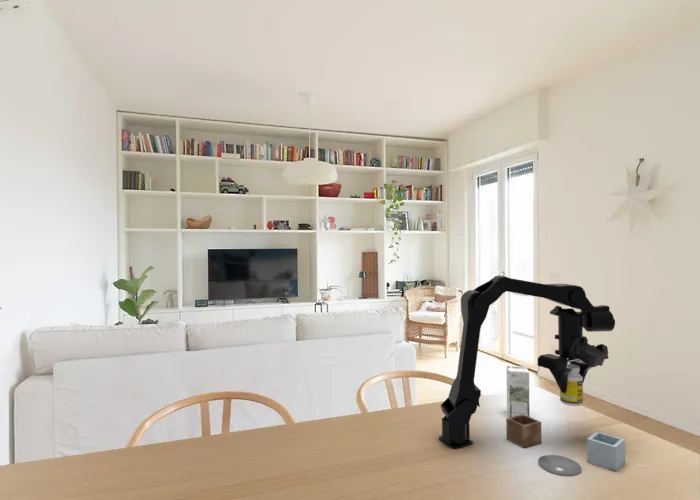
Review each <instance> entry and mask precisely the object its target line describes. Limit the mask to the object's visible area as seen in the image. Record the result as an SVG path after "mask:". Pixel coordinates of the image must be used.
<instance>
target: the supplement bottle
mask: <svg viewBox="0 0 700 500" xmlns="http://www.w3.org/2000/svg"><path fill="white" fill-rule="evenodd" d="M568 368H569V369H572V371H571V372H570V373H568V378H567V391H566V393H562V392H561V390H560V389H559V401H560V403H562V404H564V405H566V406H569V407H571V406H572V407H579V406H580V407H581V406H582V405H583V404H584V382H583V378H582V376H581V375H580V374H579V371H580V368H579V366H578V365H574V364H570V363H568Z"/></svg>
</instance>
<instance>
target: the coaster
mask: <svg viewBox="0 0 700 500" xmlns="http://www.w3.org/2000/svg"><path fill="white" fill-rule="evenodd" d="M537 463H538V466H539V467H540V468H541V469H542V470H544V471H546V472H548V473H551V474H553V475H556V476H560V477H561V476H563V477H574V476H578V475H579V474H581V473H582V467H581V466H582V465H580V464H579V462H577V461H576V460H574V459H572V458H569V457H566V456H562V455H557V454H545V455H542V456H540V457H539V458H538V460H537Z"/></svg>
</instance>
